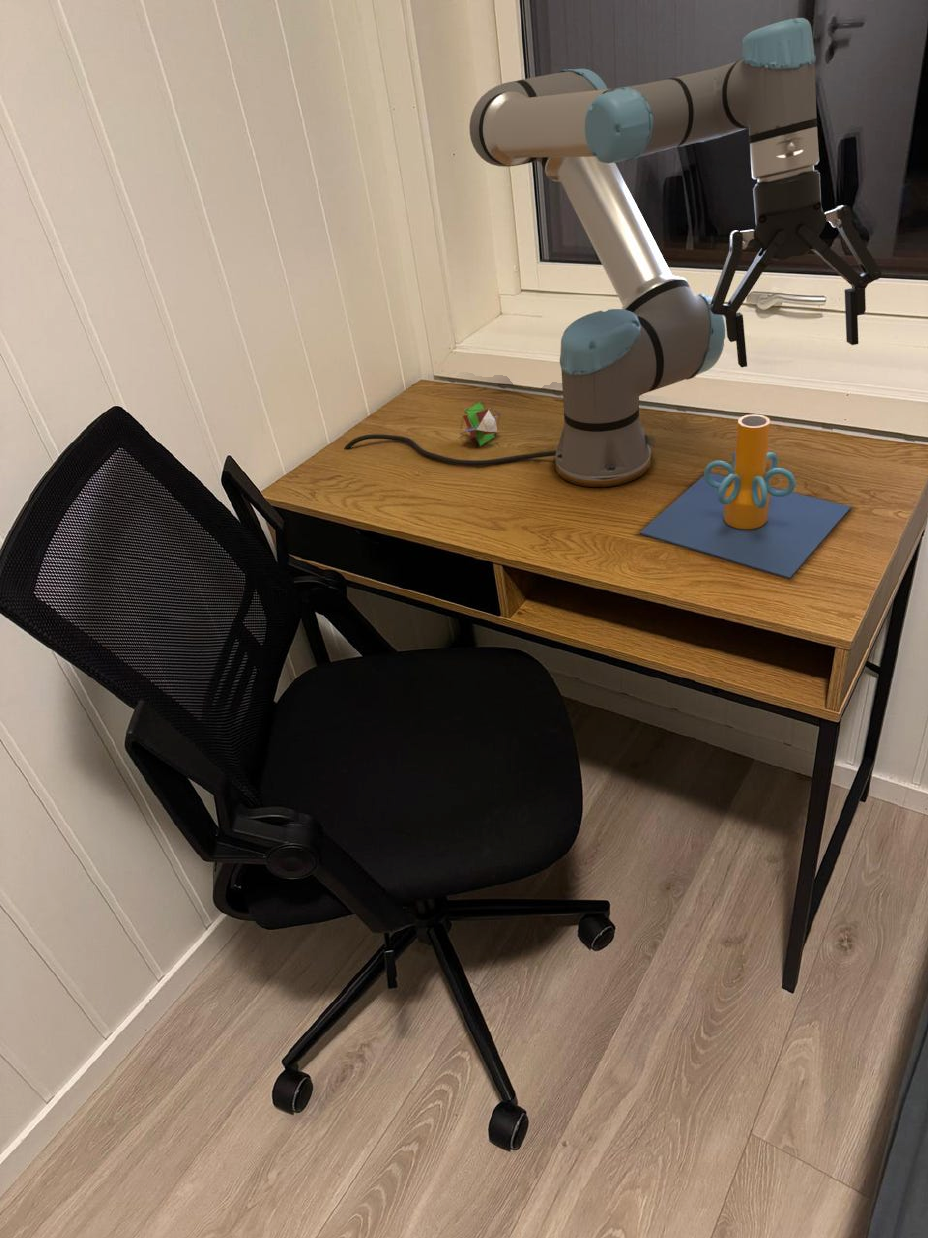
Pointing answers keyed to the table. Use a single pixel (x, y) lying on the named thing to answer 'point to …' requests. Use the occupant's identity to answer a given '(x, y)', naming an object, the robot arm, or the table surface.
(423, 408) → the table surface
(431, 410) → the table surface
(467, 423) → the geometric puzzle
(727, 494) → the cylinder
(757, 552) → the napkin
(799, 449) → the table surface
